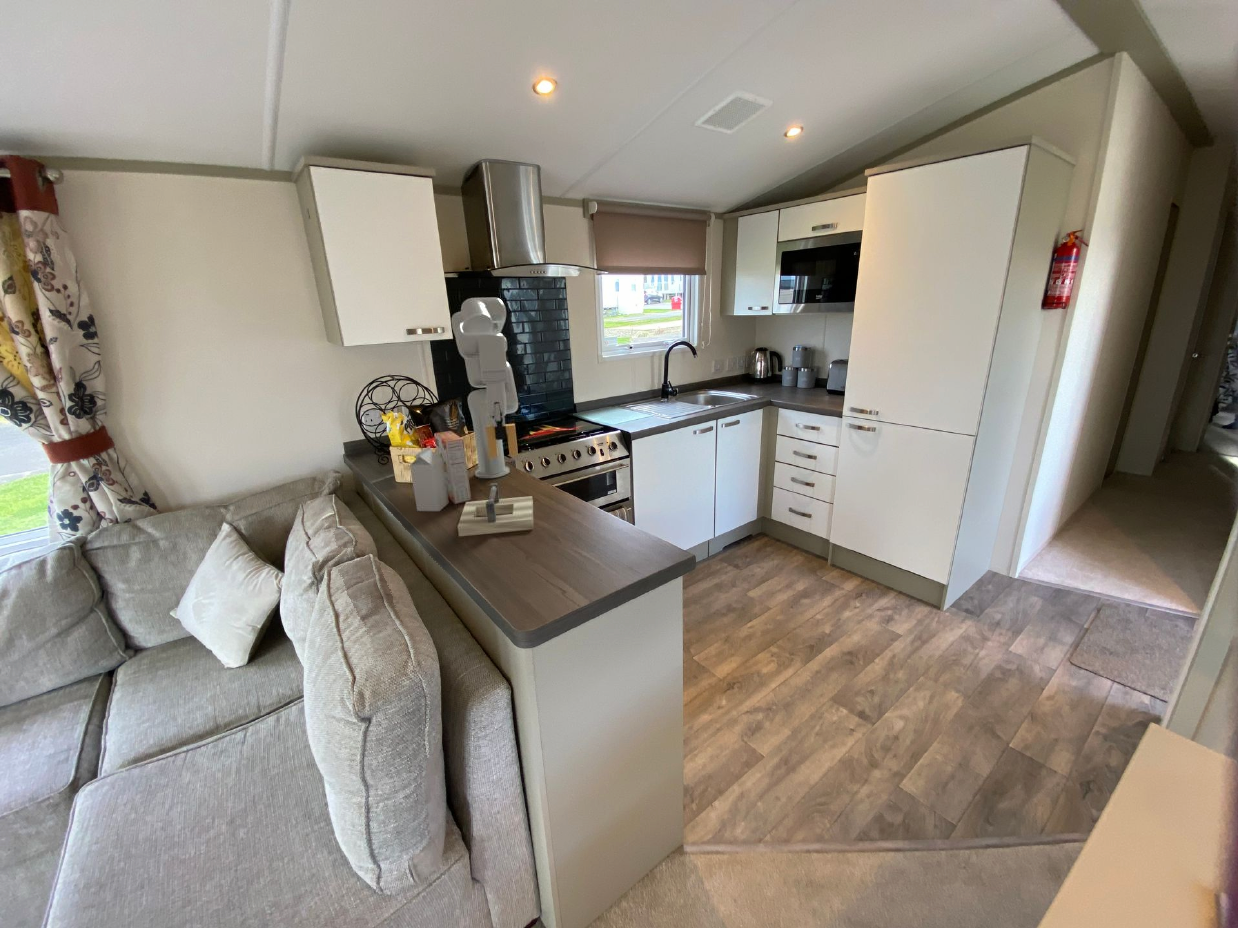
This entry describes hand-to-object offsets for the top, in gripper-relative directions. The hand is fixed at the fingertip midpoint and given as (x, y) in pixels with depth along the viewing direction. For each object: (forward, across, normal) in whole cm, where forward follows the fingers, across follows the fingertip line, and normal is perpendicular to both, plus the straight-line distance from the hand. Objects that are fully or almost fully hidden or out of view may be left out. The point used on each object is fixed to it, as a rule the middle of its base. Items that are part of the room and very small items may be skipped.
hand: (501, 437), depth 150 cm
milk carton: (+22, -4, -23) cm, 32 cm away
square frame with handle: (+22, +12, -4) cm, 25 cm away
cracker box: (+22, -12, -17) cm, 30 cm away
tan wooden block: (+6, 0, 0) cm, 6 cm away
